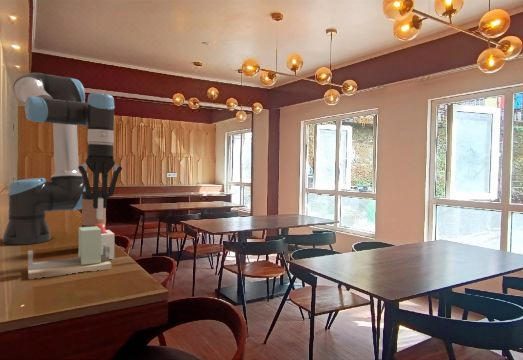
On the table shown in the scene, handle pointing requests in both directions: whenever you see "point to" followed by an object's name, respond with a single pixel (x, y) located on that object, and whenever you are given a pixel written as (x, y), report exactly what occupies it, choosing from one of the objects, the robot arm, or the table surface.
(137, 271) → the table surface
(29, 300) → the table surface
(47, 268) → the rail
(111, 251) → the hollow box
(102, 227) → the button
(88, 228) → the carriage
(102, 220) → the travel mug
